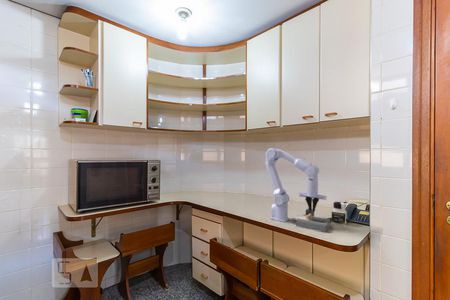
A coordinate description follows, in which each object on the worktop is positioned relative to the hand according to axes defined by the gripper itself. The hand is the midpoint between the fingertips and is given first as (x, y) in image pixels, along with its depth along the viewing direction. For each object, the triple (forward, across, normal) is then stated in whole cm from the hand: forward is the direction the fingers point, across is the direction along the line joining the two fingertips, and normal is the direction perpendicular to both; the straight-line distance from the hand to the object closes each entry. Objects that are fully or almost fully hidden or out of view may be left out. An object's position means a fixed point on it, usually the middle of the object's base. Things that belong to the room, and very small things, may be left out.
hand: (312, 210), depth 124 cm
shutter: (+5, +5, 0) cm, 7 cm away
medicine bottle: (+9, -11, -16) cm, 21 cm away
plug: (+8, +4, -10) cm, 14 cm away
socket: (+8, -1, 0) cm, 8 cm away
